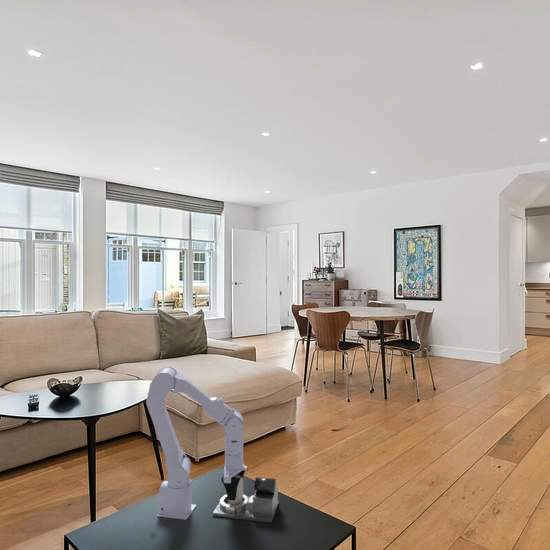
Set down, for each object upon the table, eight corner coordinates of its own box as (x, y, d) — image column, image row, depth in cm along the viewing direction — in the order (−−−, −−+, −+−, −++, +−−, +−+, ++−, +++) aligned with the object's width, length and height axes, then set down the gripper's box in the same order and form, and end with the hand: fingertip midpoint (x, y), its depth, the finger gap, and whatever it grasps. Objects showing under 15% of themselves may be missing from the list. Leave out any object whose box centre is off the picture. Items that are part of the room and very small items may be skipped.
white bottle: (238, 506, 130) (239, 480, 130) (225, 503, 131) (226, 477, 131) (245, 499, 134) (245, 474, 134) (232, 496, 135) (232, 471, 135)
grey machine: (212, 515, 128) (212, 482, 128) (224, 497, 139) (224, 466, 139) (271, 522, 125) (271, 488, 125) (278, 503, 135) (278, 471, 135)
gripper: (239, 462, 125) (240, 509, 125) (252, 444, 139) (252, 485, 139) (217, 460, 126) (217, 506, 126) (231, 442, 140) (231, 483, 140)
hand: (234, 495), depth 133 cm, fingers closed on white bottle, 4 cm apart
